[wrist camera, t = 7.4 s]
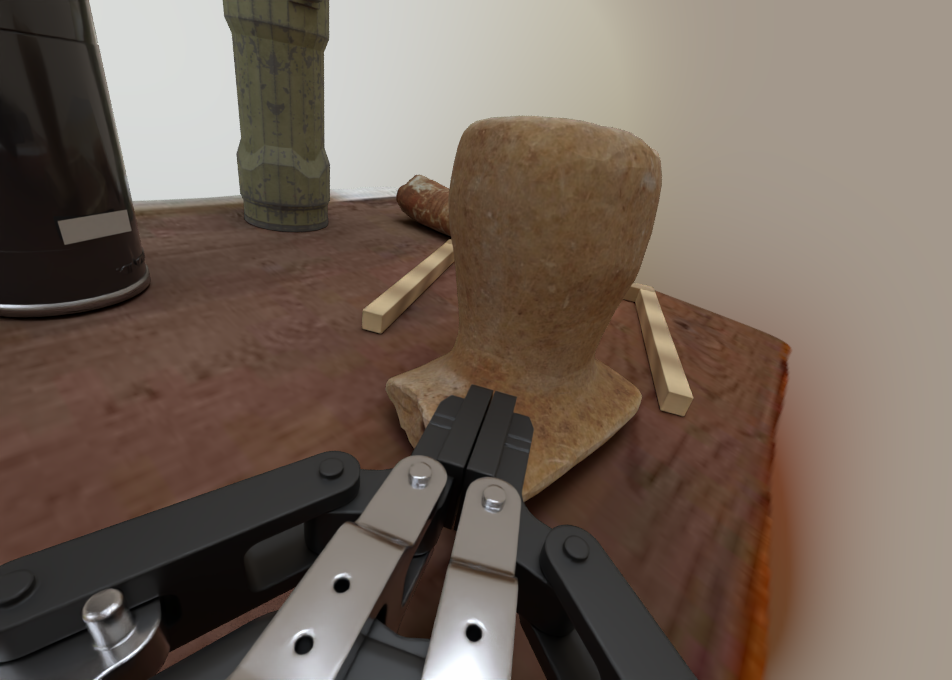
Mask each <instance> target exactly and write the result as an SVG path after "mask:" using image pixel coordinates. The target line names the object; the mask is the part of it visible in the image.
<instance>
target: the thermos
mask: <svg viewBox="0 0 952 680" xmlns="http://www.w3.org/2000/svg"><path fill="white" fill-rule="evenodd" d="M223 7H224V17H225V19H226V21H227V23H228V26H229V28H230V30H231V32H232V40H233V52H234V62H235V74H236V85H237V95H238V106H239V119H240V130H241V140H240V144H239V147H238V151H237V164H238V174H239V185H240V194H241V195H242V198H243V200H244V219H245V220H246V221H247V222H248V223H250V224H252V225H254V226H257V227H261V228H265V229H269V230H277V231H288V232H304V231H313V230H319V229H322V228H324V227H326V226H327V225H328V215H327V205H328V202H329V201H330V164H329V160H328V157H327V155H326V152H325V148H324V50H325V48H326V46H327V43H328V41H329V0H223Z"/></svg>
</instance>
